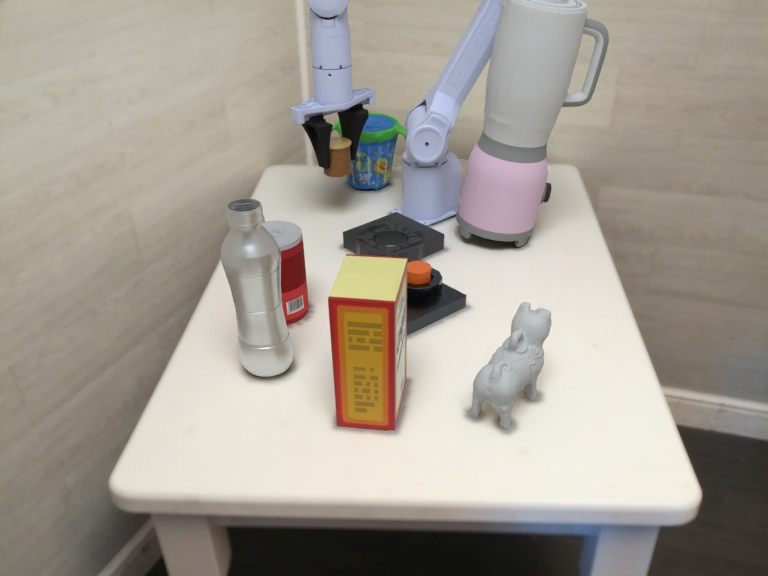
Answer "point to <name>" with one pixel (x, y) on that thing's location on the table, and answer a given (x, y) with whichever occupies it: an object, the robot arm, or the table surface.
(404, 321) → the baking soda box
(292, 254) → the canned food
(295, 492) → the table surface
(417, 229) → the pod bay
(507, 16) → the blender
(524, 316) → the dog figurine
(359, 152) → the snack cup
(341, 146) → the coffee pod
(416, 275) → the button
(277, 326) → the plastic bottle
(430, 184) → the robot arm
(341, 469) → the table surface
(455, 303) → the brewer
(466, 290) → the table surface
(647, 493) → the table surface
